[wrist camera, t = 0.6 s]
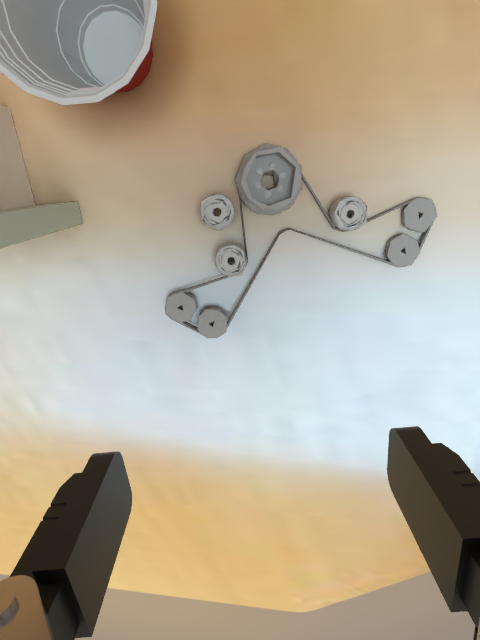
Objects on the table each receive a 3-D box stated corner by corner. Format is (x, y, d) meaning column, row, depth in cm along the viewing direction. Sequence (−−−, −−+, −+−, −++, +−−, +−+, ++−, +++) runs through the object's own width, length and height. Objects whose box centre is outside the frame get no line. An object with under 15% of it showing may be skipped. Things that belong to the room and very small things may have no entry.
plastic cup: (84, 144, 33) (7, 128, 22) (27, -2, 29) (-102, -112, 18) (201, 106, 32) (183, 69, 21) (158, -50, 28) (106, -197, 17)
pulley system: (122, 207, 36) (185, 344, 40) (106, 207, 32) (179, 361, 36) (398, 92, 34) (434, 249, 38) (424, 74, 29) (462, 255, 33)
